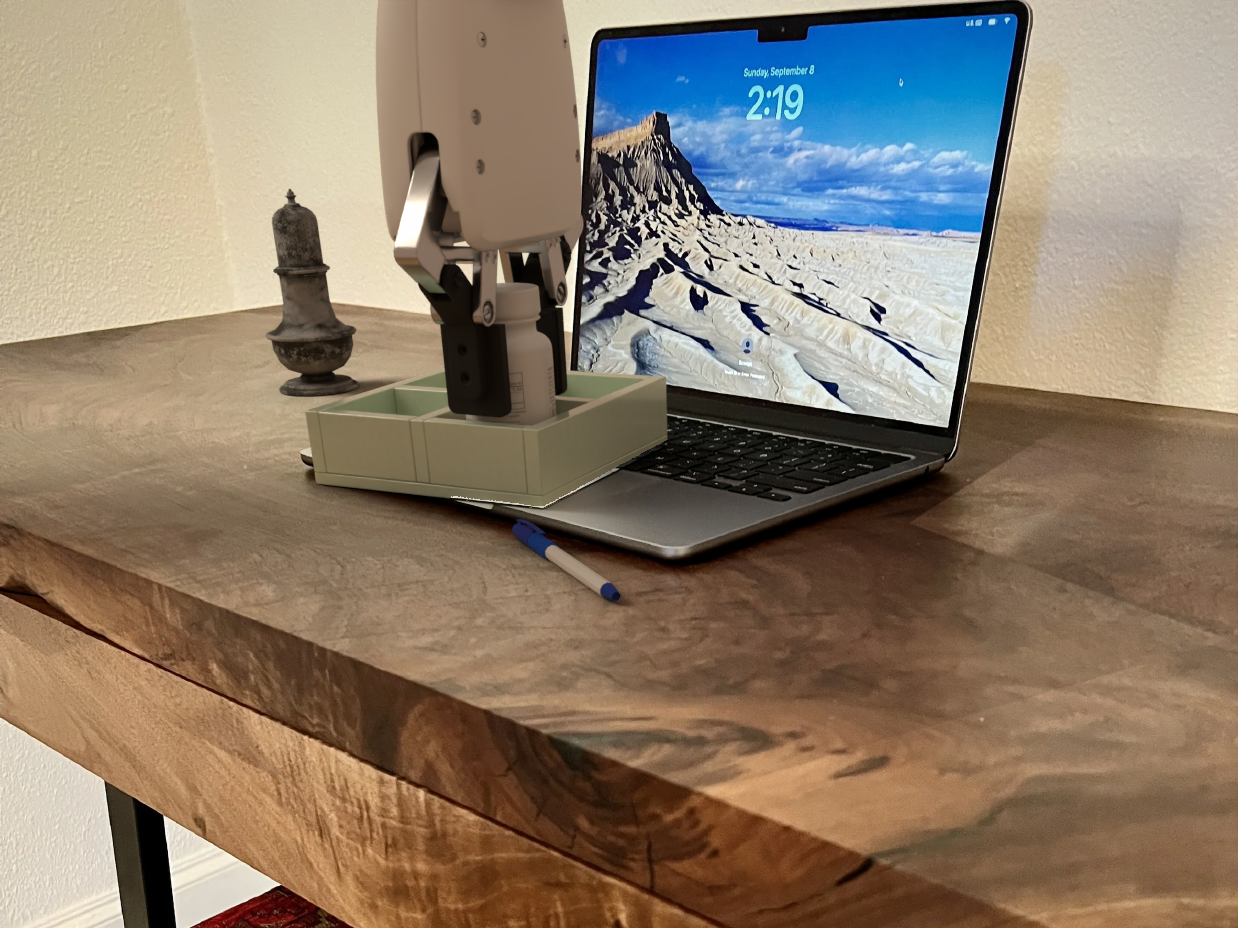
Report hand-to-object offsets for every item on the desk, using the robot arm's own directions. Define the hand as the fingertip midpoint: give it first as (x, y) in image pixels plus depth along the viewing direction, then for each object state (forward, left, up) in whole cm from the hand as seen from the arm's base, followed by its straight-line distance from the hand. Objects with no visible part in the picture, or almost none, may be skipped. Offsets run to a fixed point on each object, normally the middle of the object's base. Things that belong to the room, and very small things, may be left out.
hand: (509, 399), depth 65 cm
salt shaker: (-26, +17, -4) cm, 32 cm away
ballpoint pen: (+9, -11, -4) cm, 15 cm away
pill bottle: (0, 0, -3) cm, 3 cm away
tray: (-3, +3, -4) cm, 6 cm away
